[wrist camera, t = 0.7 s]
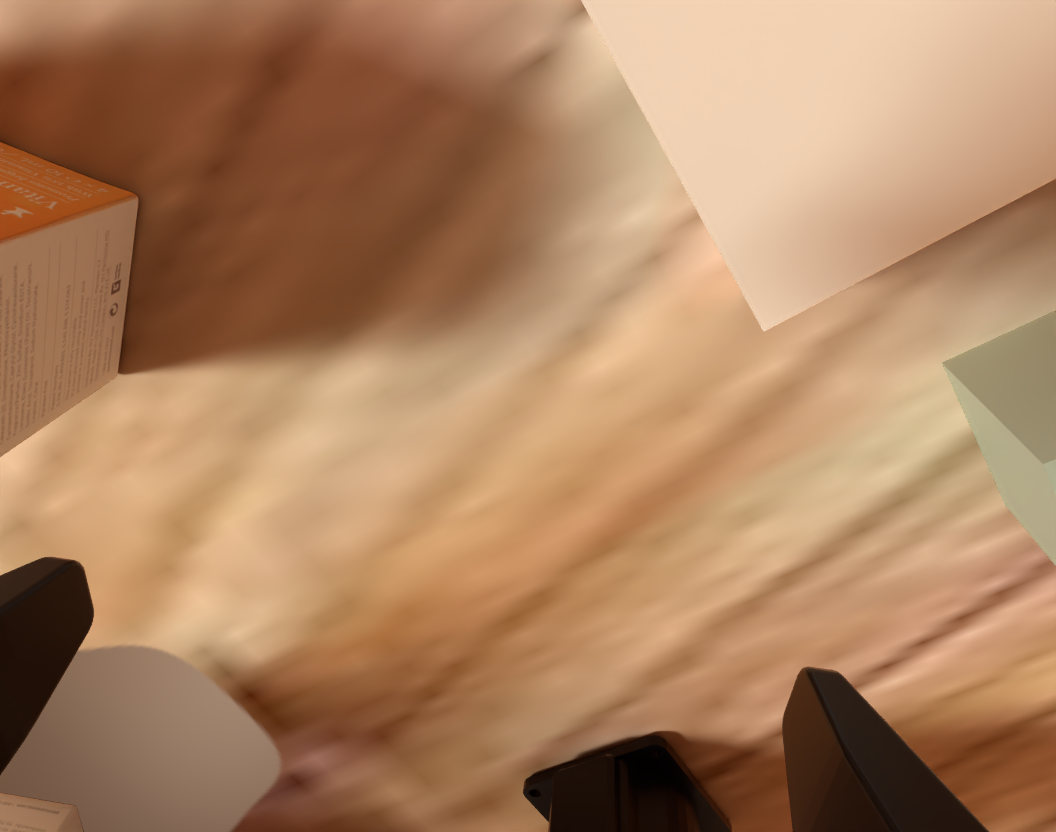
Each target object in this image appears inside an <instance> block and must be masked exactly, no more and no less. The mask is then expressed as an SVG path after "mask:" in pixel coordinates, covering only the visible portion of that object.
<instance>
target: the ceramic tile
mask: <svg viewBox="0 0 1056 832" xmlns="http://www.w3.org/2000/svg"><path fill="white" fill-rule="evenodd" d="M581 1H582V3H583V5H584V7H585V8H586V10H587V12H588V14H589V16H590V17H591V19H592V21H593V23H594V25H595V27H596V28H597V30H598V32H599V34H600V36H601V37H602V39H603V41H604V43H605V45H606V47H607V48H608V50H609V52H610V54H611V56H612V57H613V59H614V61H615V63H616V65H617V67H618V68H619V70H620V72H621V74H622V76H623V77H624V79H625V81H626V83H627V85H628V86H629V88H630V90H631V92H632V94H633V96H634V97H635V99H636V101H637V103H638V105H639V106H640V108H641V110H642V112H643V114H644V116H645V117H646V119H647V121H648V123H649V125H650V126H651V128H652V130H653V132H654V134H655V136H656V137H657V139H658V141H659V143H660V145H661V146H662V148H663V150H664V152H665V154H666V155H667V157H668V159H669V161H670V163H671V165H672V166H673V168H674V170H675V172H676V174H677V175H678V177H679V179H680V181H681V183H682V185H683V186H684V188H685V190H686V192H687V194H688V195H689V197H690V199H691V201H692V203H693V205H694V206H695V208H696V210H697V212H698V214H699V215H700V217H701V219H702V221H703V223H704V224H705V226H706V228H707V230H708V232H709V234H710V235H711V237H712V239H713V241H714V243H715V244H716V246H717V248H718V250H719V252H720V254H721V255H722V257H723V259H724V261H725V263H726V264H727V266H728V268H729V270H730V272H731V274H732V275H733V277H734V279H735V281H736V283H737V284H738V286H739V288H740V290H741V292H742V294H743V295H744V297H745V299H746V301H747V303H748V304H749V306H750V308H751V310H752V312H753V313H754V315H755V317H756V319H757V321H758V323H759V324H760V326H761V328H762V330H763V332H764V331H766V330H768V329H770V328H772V327H774V326H776V325H778V324H779V323H781V322H783V321H785V320H787V319H789V318H791V317H793V316H795V315H797V314H799V313H800V312H802V311H804V310H806V309H808V308H810V307H812V306H814V305H816V304H818V303H820V302H821V301H823V300H825V299H827V298H829V297H831V296H833V295H835V294H837V293H839V292H841V291H842V290H844V289H846V288H848V287H850V286H852V285H854V284H856V283H858V282H860V281H862V280H864V279H865V278H867V277H869V276H871V275H873V274H875V273H877V272H879V271H881V270H883V269H885V268H886V267H888V266H890V265H892V264H894V263H896V262H898V261H900V260H902V259H904V258H906V257H907V256H909V255H911V254H913V253H915V252H917V251H919V250H921V249H923V248H925V247H927V246H928V245H930V244H932V243H934V242H936V241H938V240H940V239H942V238H944V237H946V236H948V235H949V234H951V233H953V232H955V231H957V230H959V229H961V228H963V227H965V226H967V225H969V224H970V223H972V222H974V221H976V220H978V219H980V218H982V217H984V216H986V215H988V214H990V213H991V212H993V211H995V210H997V209H999V208H1001V207H1003V206H1005V205H1007V204H1009V203H1011V202H1012V201H1014V200H1016V199H1018V198H1020V197H1022V196H1024V195H1026V194H1028V193H1030V192H1032V191H1033V190H1035V189H1037V188H1039V187H1041V186H1043V185H1045V184H1047V183H1049V182H1051V181H1053V180H1054V179H1056V0H581Z"/></svg>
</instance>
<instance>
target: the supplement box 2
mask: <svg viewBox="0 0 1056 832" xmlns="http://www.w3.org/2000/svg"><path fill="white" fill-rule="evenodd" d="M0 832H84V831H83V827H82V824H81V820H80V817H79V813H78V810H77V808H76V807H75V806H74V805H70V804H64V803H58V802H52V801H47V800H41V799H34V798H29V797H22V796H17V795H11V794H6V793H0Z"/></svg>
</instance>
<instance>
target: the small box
mask: <svg viewBox="0 0 1056 832" xmlns="http://www.w3.org/2000/svg"><path fill="white" fill-rule="evenodd" d="M137 210H138V197H137V195H136V194H134V193H132V192H129V191H126V190H123V189H120V188H117V187H115V186H112V185H109V184H106V183H103V182H100V181H98V180H95V179H92V178H90V177H87V176H85V175H82V174H79V173H77V172H74V171H72V170H69V169H67V168H64V167H61V166H59V165H56V164H54V163H51V162H49V161H46V160H44V159H41V158H39V157H36V156H34V155H32V154H29V153H27V152H24V151H22V150H19V149H17V148H14V147H12V146H9V145H7V144H4V143H2V142H0V457H1V456H2V455H4V454H5V453H7V452H8V451H10V450H11V449H13V448H14V447H16V446H17V445H18V444H20V443H21V442H23V441H24V440H26V439H27V438H29V437H30V436H31V435H33V434H34V433H36V432H37V431H39V430H40V429H41V428H43V427H44V426H46V425H47V424H49V423H50V422H52V421H53V420H55V419H56V418H58V417H59V416H60V415H62V414H63V413H65V412H66V411H68V410H69V409H71V408H72V407H74V406H75V405H76V404H78V403H79V402H81V401H82V400H84V399H85V398H87V397H88V396H90V395H91V394H93V393H94V392H96V391H97V390H98V389H100V388H101V387H103V386H104V385H106V384H107V383H108V382H110V381H111V380H113V379H115V378H116V376H117V373H118V367H119V358H120V352H121V343H122V335H123V329H124V319H125V311H126V303H127V294H128V287H129V278H130V269H131V262H132V253H133V243H134V235H135V226H136V218H137Z"/></svg>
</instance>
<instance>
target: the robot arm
mask: <svg viewBox="0 0 1056 832" xmlns="http://www.w3.org/2000/svg"><path fill="white" fill-rule="evenodd" d="M93 617H94V608H93V603H92V599H91V595H90V591H89V586H88V582H87V578H86V574H85V570H84V567H83V566H82V565H81V564H80V563H79V562H77V561H75V560H70V559H63V558H56V557H44V558H41V559H38V560H36V561H33V562H31V563H29V564H26V565H24V566H22V567H19V568H17V569H15V570H12V571H10V572H8V573H5V574H3V575H0V775H1V773H2V772H3V771H4V769H5V768H6V766H7V765H8V764H9V762H10V761H11V759H12V758H13V756H14V755H15V753H16V752H17V751H18V749H19V748H20V746H21V745H22V743H23V742H24V740H25V739H26V737H27V735H28V734H29V732H30V731H31V729H32V727H33V726H34V724H35V723H36V721H37V719H38V718H39V716H40V714H41V712H42V710H43V709H44V707H45V706H46V704H47V702H48V700H49V698H50V697H51V695H52V693H53V692H54V690H55V688H56V687H57V685H58V683H59V681H60V680H61V678H62V676H63V675H64V673H65V671H66V669H67V668H68V666H69V664H70V663H71V661H72V659H73V657H74V656H75V654H76V652H77V651H78V649H79V647H80V645H81V644H82V642H83V640H84V639H85V637H86V635H87V633H88V632H89V630H90V627H91V625H92V622H93ZM782 732H783V743H784V752H785V762H786V771H787V780H788V790H789V799H790V808H791V818H792V827H793V832H989V831H988V830H987V829H986V828H985V827H984V826H983V825H982V824H981V823H980V821H979V820H978V819H977V818H976V817H975V816H974V815H973V814H972V813H971V812H970V811H969V810H968V809H967V808H966V807H965V805H964V804H963V803H962V802H961V801H960V800H959V799H958V798H957V797H956V796H955V795H954V794H953V793H952V792H951V791H950V789H949V788H948V787H947V786H946V785H945V784H944V783H943V782H942V781H941V780H940V779H939V778H938V777H937V776H936V775H935V773H934V772H933V771H932V770H931V769H930V768H929V767H928V766H927V765H926V764H925V763H924V762H923V761H922V760H921V759H920V757H919V756H918V755H917V754H916V753H915V752H914V751H913V750H912V749H911V748H910V747H909V746H908V745H907V744H906V743H905V741H904V740H903V739H902V738H901V737H900V736H899V735H898V734H897V733H896V732H895V731H894V730H893V729H892V728H891V727H890V725H889V724H888V723H887V722H886V721H885V720H884V719H883V718H882V717H881V716H880V715H879V714H878V713H877V712H876V710H875V709H874V708H873V707H872V706H871V705H870V704H869V703H868V702H867V701H866V700H865V699H864V698H863V697H862V696H861V694H860V693H859V692H858V691H857V690H856V689H855V688H854V687H853V686H852V685H851V684H850V683H849V682H848V681H847V680H846V678H845V677H844V676H842V675H841V674H840V673H839V672H837V671H834V670H828V669H822V668H815V667H804V668H802V669H801V671H800V672H799V674H798V676H797V679H796V681H795V684H794V687H793V690H792V693H791V695H790V698H789V701H788V704H787V706H786V709H785V712H784V716H783V724H782ZM523 794H524V796H525V797H526V798H527V799H528V800H529V801H530V802H531V803H532V805H533V806H534V807H535V808H536V809H537V810H538V811H539V812H540V813H541V814H542V815H543V816H544V817H545V819H546V820H547V821H548V822H549V829H548V832H732V826H731V823H730V822H729V821H728V819H727V818H726V817H725V816H724V814H723V813H722V812H721V811H720V809H719V808H718V807H717V805H716V804H715V803H714V802H713V800H712V799H711V798H710V796H709V795H708V794H707V793H706V791H705V790H704V789H703V788H702V786H701V785H700V784H699V782H698V781H697V780H696V779H695V777H694V776H693V775H692V773H691V772H690V771H689V770H688V768H687V767H686V766H685V765H684V763H683V762H682V761H681V759H680V758H679V757H678V756H677V754H676V753H675V752H674V750H673V749H672V748H671V747H670V745H669V744H668V743H667V742H666V740H664V739H663V738H661V737H658V736H650V737H646V738H644V739H641V740H638V741H635V742H632V743H629V744H626V745H623V746H620V747H617V748H614V749H611V750H608V751H605V752H602V753H599V754H596V755H593V756H590V757H587V758H585V759H582V760H579V761H576V762H573V763H570V764H567V765H564V766H561V767H558V768H555V769H552V770H549V771H546V772H543V773H540V774H537V775H534V776H531V777H529V778H527V779H526V780H525V781H524V789H523Z"/></svg>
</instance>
